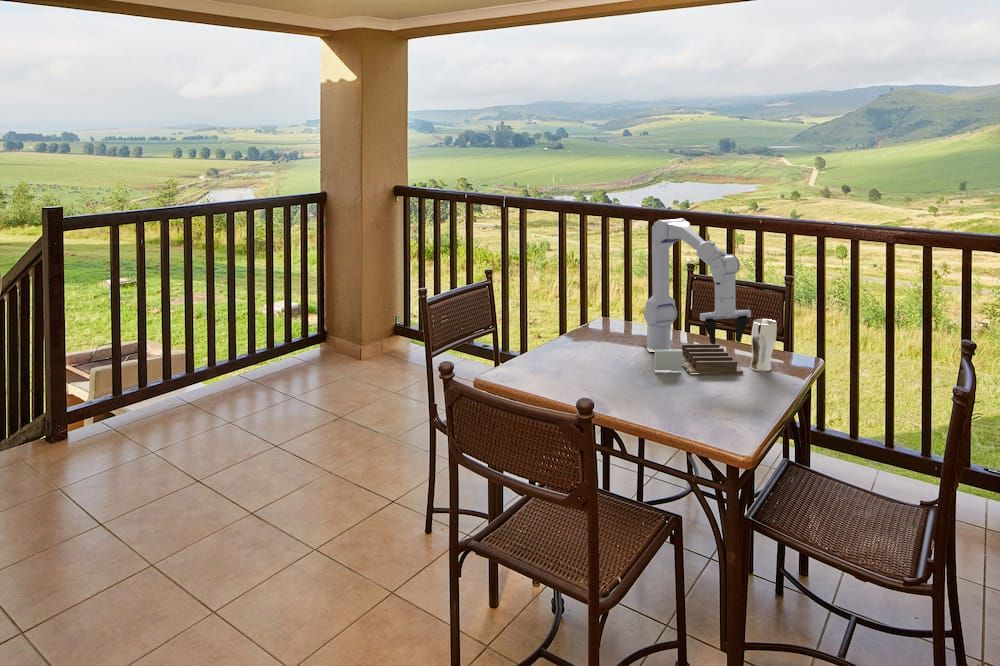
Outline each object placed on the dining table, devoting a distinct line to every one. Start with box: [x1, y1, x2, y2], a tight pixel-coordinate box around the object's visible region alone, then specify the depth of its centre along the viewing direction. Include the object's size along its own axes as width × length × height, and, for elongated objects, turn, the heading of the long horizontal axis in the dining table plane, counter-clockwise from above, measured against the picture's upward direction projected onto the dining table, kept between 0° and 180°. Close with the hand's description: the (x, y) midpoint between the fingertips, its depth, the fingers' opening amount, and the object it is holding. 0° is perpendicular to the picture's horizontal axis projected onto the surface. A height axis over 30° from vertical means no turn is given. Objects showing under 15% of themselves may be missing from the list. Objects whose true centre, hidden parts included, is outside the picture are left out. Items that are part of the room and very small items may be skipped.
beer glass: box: [749, 318, 778, 373], centre depth 197 cm, size 7×7×15 cm
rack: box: [681, 343, 744, 375], centre depth 203 cm, size 18×16×4 cm
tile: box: [653, 348, 683, 372], centre depth 197 cm, size 2×8×7 cm, turn 89°
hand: (725, 342), depth 191 cm, fingers open, 7 cm apart
